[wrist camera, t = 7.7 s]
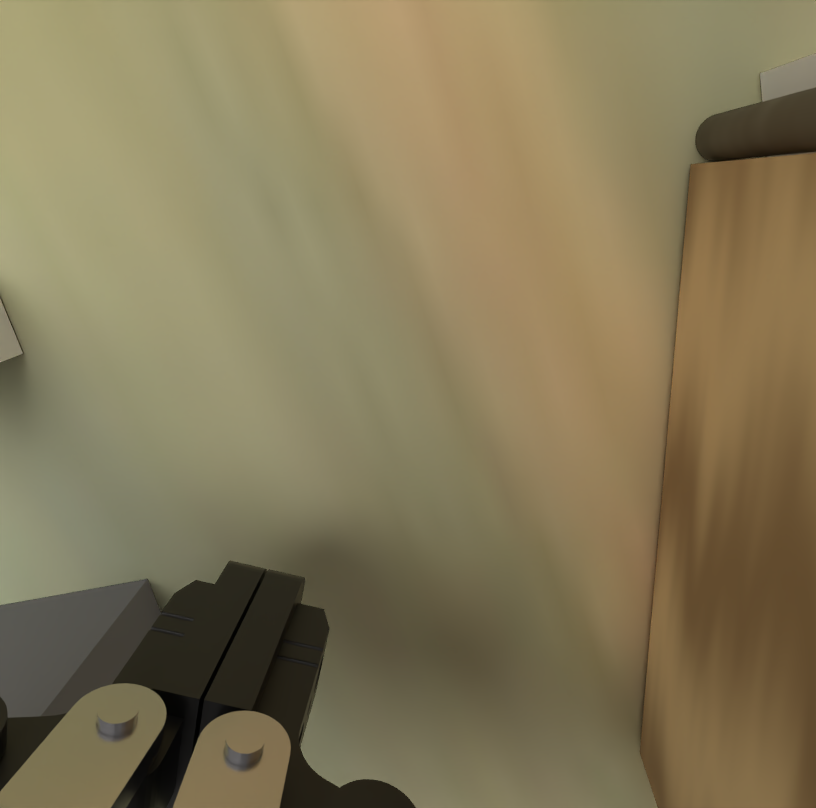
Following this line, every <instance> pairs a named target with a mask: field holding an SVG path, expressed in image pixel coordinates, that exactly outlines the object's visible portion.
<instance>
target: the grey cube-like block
mask: <svg viewBox="0 0 816 808" xmlns="http://www.w3.org/2000/svg"><path fill="white" fill-rule="evenodd" d="M159 615H161V612H160V609H159V607H158V604H157V602H156V599H155V597H154V594H153V592H152V589H151V587H150V584H149V582H148V579H144V580H139V581H133V582H128V583H122V584H117V585H111V586H105V587H100V588H94V589H89V590H83V591H78V592H72V593H66V594H61V595H55V596H50V597H44V598H39V599H33V600H27V601H22V602H16V603H11V604H5V605H0V697H1V698H2V699H3V701H4V702H5V704H6V706H7V712H8V718H13V717H37V716H52V715H59V714H64V713H68V711H69V710H70V709H71V708H72V707H73V706H74V704H76V703H77V702H78V701H79V700H80V699H81V698H82V697H83V696H85V695H86V694H88V693H90V692H91V691H93V690H96V689H98V688H101V687H104V686H107V685H112V683H113V682H114V680H115V679H116V677H117V676H118V675H119V673H120V672H121V670H122V669H123V667H124V666H125V664H126V663H127V662H128V660H129V659H130V657H131V656H132V654H133V653H134V651H135V650H136V648H137V647H138V646H139V644H140V643H141V641H142V640H143V638H144V637H145V635H146V634H147V633H148V631H149V630H151V628H152V625H153V624H154V622H155V621H156V620H157V618H158V617H159Z"/></svg>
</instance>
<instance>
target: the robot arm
mask: <svg viewBox="0 0 816 808" xmlns="http://www.w3.org/2000/svg"><path fill="white" fill-rule="evenodd" d="M304 584H305V578H304V577H300V576H295V575H291V574H286V573H282V572H278V571H273V570H268V571H267V569H264V568H260V567H255V566H251V565H246V564H242V563H238V562H233V561H229V562H228V564H227V565H226V567H225V569H224V570H223V572H222V574H221V575H220V577H219V579H218V580H217V582H216V583H215V584H210V583H206V582H201V581H197V580H195V581H194V582H192V583H191V584H189V585H187V586H186V587H184V588H182V589H181V590H179V591H178V592H176V593H174V595H173V596H172V598H171V599H170V601H169V602H168V604H167V605H166V606H165V608H164V609H163V611H162V614H161V615H159V617H158V618H157V620H156V621H155V622H154V624H153V625H152V628H151V630H149V631H148V633H147V634H146V635H145V637H144V638H143V640H142V641H141V643H140V644H139V646H138V647H137V648H136V650H135V651H134V653H133V654H132V656H131V657H130V659H129V660H128V662H127V663H126V664H125V666H124V667H123V669H122V670H121V672H120V673H119V675H118V676H117V677H116V679H115V680H114V682H113V683H112V685H107V686H104V687H101V688H98V689H96V690H93V691H91V692H90V693H88V694H86V695H85V696H83V697H82V698H81V699H80V700H79V701H78V702H77V703H76V704H74V706H73V707H72V708H71V709H70V710H69V711H68V713H64V714H59V715H52V716H37V717H13V718H8V712H7V706H6V704H5V702H4V701H3V699H2V698H1V697H0V808H415V806H414V805H413V803H412V802H411V801H410V799H409V798H408V797H407V796H406V795H405V794H404V793H403V792H401V791H400V790H398V789H397V788H396V787H394V786H392V785H390V784H388V783H385V782H382V781H377V780H369V779H363V780H356V781H353V782H350V783H347V784H345V785H343V786H342V787H340V788H339V787H337V786H335V785H334V784H332V783H330V782H329V781H327V780H325V779H324V778H322V777H321V776H319V775H318V774H317V773H316V772H315V771H314V770H313V769H312V768H311V767H310V766H309V765H308V763H307V762H306V760H305V759H304V757H303V755H302V752H301V749H300V747H301V743H302V739H303V736H304V732H305V729H306V725H307V722H308V718H309V714H310V711H311V707H312V704H313V700H314V697H315V693H316V689H317V685H318V680H319V675H320V670H321V666H322V661H323V656H324V652H325V647H326V642H327V637H328V633H329V626H328V622H327V619H326V615H325V612H324V609H320V608H316V607H312V606H307V605H303V604H301V600H302V595H303V590H304Z"/></svg>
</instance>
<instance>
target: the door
mask: <svg viewBox="0 0 816 808" xmlns="http://www.w3.org/2000/svg"><path fill="white" fill-rule="evenodd" d="M696 147H697V150H698V151H699V153H700V154H701V155H702V156H703V157H704V158H706V159H708V160H711V161H721V160H731V159H742V158H753V157H764V156H774V155H785V154H796V153H807V152H816V87H815V88H811V89H808V90H804V91H800V92H797V93H793V94H789V95H786V96H782V97H778V98H775V99H771V100H767V101H764V102H760V103H756V104H752V105H749V106H745V107H741V108H738V109H734V110H730V111H727V112H723V113H719V114H716V115H713V116H711V117H709V118H707V119H706V120H705V121H704V122H703V123H702V124H701V126H700V127H699V129H698V131H697V134H696ZM640 754H641V757H642V760H643V763H644V767H645V770H646V773H647V776H648V779H649V782H650V785H651V788H652V791H653V794H654V797H655V800H656V803H657V806H658V808H816V153H811V154H800V155H789V156H777V157H766V158H755V159H744V160H732V161H721V162H710V163H699V164H691V167H690V179H689V191H688V202H687V214H686V225H685V237H684V248H683V260H682V271H681V283H680V295H679V306H678V318H677V329H676V341H675V352H674V364H673V375H672V387H671V399H670V410H669V422H668V433H667V445H666V456H665V468H664V479H663V491H662V503H661V514H660V526H659V537H658V549H657V560H656V572H655V584H654V595H653V607H652V618H651V630H650V641H649V653H648V664H647V676H646V688H645V699H644V711H643V722H642V734H641V745H640Z"/></svg>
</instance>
